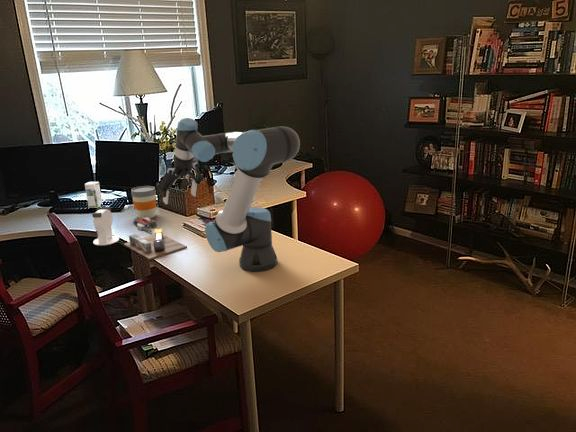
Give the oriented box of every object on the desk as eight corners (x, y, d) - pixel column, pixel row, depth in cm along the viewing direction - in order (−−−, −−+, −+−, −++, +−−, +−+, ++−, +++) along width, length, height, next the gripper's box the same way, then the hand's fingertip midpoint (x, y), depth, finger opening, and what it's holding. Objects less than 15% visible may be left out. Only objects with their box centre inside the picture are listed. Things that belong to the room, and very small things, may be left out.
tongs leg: (164, 250, 208) (163, 242, 207) (154, 252, 207) (153, 243, 206) (164, 235, 227) (163, 226, 225) (154, 236, 226) (153, 228, 224)
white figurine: (100, 235, 231) (95, 205, 227) (123, 235, 230) (119, 205, 226) (88, 245, 220) (83, 214, 215) (112, 245, 219) (107, 213, 214)
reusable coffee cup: (148, 211, 266) (145, 184, 261) (163, 214, 259) (160, 187, 254) (129, 217, 256) (125, 190, 252) (144, 221, 249) (141, 193, 244)
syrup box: (88, 208, 274) (84, 183, 269) (93, 205, 279) (89, 181, 274) (97, 209, 273) (93, 184, 268) (103, 205, 278) (99, 181, 274)
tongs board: (187, 248, 213) (186, 238, 212) (149, 260, 202) (148, 250, 200) (160, 234, 230) (159, 226, 229) (124, 245, 219) (122, 236, 217)
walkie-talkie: (129, 225, 245) (149, 235, 232) (128, 217, 244) (148, 226, 230) (145, 221, 251) (165, 230, 238) (144, 213, 250) (164, 221, 236)
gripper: (205, 145, 204) (199, 187, 216) (151, 156, 188) (148, 200, 200) (215, 154, 200) (208, 196, 212) (161, 166, 184) (157, 210, 196)
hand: (179, 198), depth 206 cm, fingers open, 13 cm apart
